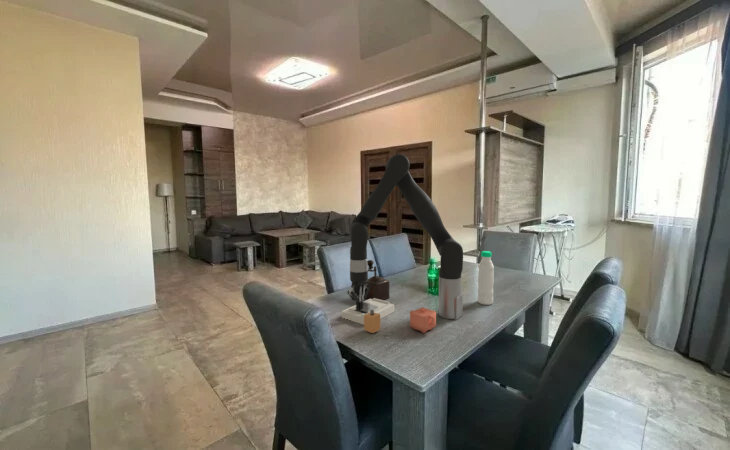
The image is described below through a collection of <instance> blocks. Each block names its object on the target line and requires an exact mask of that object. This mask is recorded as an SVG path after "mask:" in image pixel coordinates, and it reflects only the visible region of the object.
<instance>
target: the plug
mask: <svg viewBox="0 0 730 450" xmlns="http://www.w3.org/2000/svg"><path fill="white" fill-rule="evenodd" d="M363 330H364V331H365V332H369V333H370V334H374V333H377V332H378V331H380V330H381V319H380V314H378V313H374V310H370V312H369V313H367V314H365V315H364V325H363Z"/></svg>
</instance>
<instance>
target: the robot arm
mask: <svg viewBox="0 0 730 450" xmlns="http://www.w3.org/2000/svg"><path fill="white" fill-rule="evenodd" d="M410 166H411V164H410V160H409V158H408V157H407V156H406V155H405V154H400V153H399V154H397V153H396V154H394V155H392V156H391V157H390V158H389V159H388V160H387V161H386V162H385V171H384V174H383V176H382V178H381V179H380V181H379V182H378V184H377V185H376V187H375V188H374V190H373V191H372V192H371V194H369V196H368V198H367V199H366V201H365V203H364V204H363V206H362V208H361V209H360V211H359V213H358V214H357V215H356V216H355V217H354V218H353V220H352V222H351V223H350V225H349V228H348V234H349V235H350V238H351V239H350V240H351V241H350V242H351V243H350V245H351V246H350V248H349V250H350V251H349V256H350V257H349V259H350V260H349V280H350V281H351V285H350V286H351V287H350V289H349V290H347V295H348V296H349V297H350V298H351V300H352V301H354V302H355V305H356V308H357V310H361V309H363V301H365V299H364V298H366V296H367V294H368V291H369V289H370V285H368V284H367V282H366V281H367V280H368V279H369V276H368V275H369V273H368V272H369V271H368V267H369V266H368V263H367V261H368V249H367V246H368V237H369V232H368V227H369V226H370V224H371V223H372V222H373V221H375V219H376V218H377V217H378V215H379V214H380V212H381V210H382V208H383V207H384V206H385V203H386V201H387V200H388V198H389V196H390V195H391V194H392V192H393V191H394V188H395V187H396V186H397V188H398V190H399V191H400V193H401V194H402V196H403V197H404V200H405V201H406V203H407V204H408V206H409V209H410V210H411V212H412V213H413V214H414V216H415V218H416V219H417V221H418V223H420V225H421V226H422V228H423V229H424V230H425V231H426V232H427V234H428V235H429V236H430V238H431V241H432V242H433V244H434V246H435V247H436V248H435V249H436V250H437V252H438V254H439V256H440V265H439V266H440V269H439V270H438V316H439V317H440V318H443V319H447V320H459V319H460V318H461V317H462V316H463V301H464V299H463V293H462V273H463V269H464V266H463V265H464V250H463V249H464V248H463V246H462V245H461V243H459V242H458V241H456V240H455V239H454V238H453V237H452V235H451V234H450V233H449V231H448V230H447V229H446V227H445V226H444V223H443V221H442V220H443V219H442V217H441V215H440V213H439V211H438V209H437V207H436V205H435V203H434V202H433V201H432V199H431V198H430V196H429V195H428V194H427V192H425V190H423V189H422V188H421V187H420V186H419V185H418V184H417V183H416V181H415V180H414V178H413V177H412V175H411V173H410V171H409V170H410Z"/></svg>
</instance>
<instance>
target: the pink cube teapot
mask: <svg viewBox="0 0 730 450" xmlns="http://www.w3.org/2000/svg"><path fill="white" fill-rule="evenodd" d="M409 327H410V328H411V329H413V330H414V331H419V332H421V333H422V334H426V333H427V331H429V330H430V331H432V330H433V328H435V327H437V311H435V310H434V309H433V310H432V309H429V308H426V307H424V306H422V307H420V308H417V309H414V310H410V312H409Z"/></svg>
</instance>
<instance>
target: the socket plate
mask: <svg viewBox="0 0 730 450" xmlns="http://www.w3.org/2000/svg"><path fill="white" fill-rule="evenodd" d="M363 301H364V302H368V303H370V304H371V305H375V306H378V308H377V309H375V310H374V313H378V314H380V320H381V319H382V318H385V317H386V316H388V315H390V314H391V313H394V312H395V311H396V310H395V304H393V303H391V301H387V300H380V299H376V298H373V299H368V300H363ZM365 314H367V312H364V311H360V310H357V309H356V304H354V305H353V306H349V307H347V308H346V309H343V310H341V318H342V319H344V318H345V320H347V319H348V320H347V321H350V320H351V321H350V322H353V323H357V324H359V325H360V324H361V325H363V326H364V315H365Z"/></svg>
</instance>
